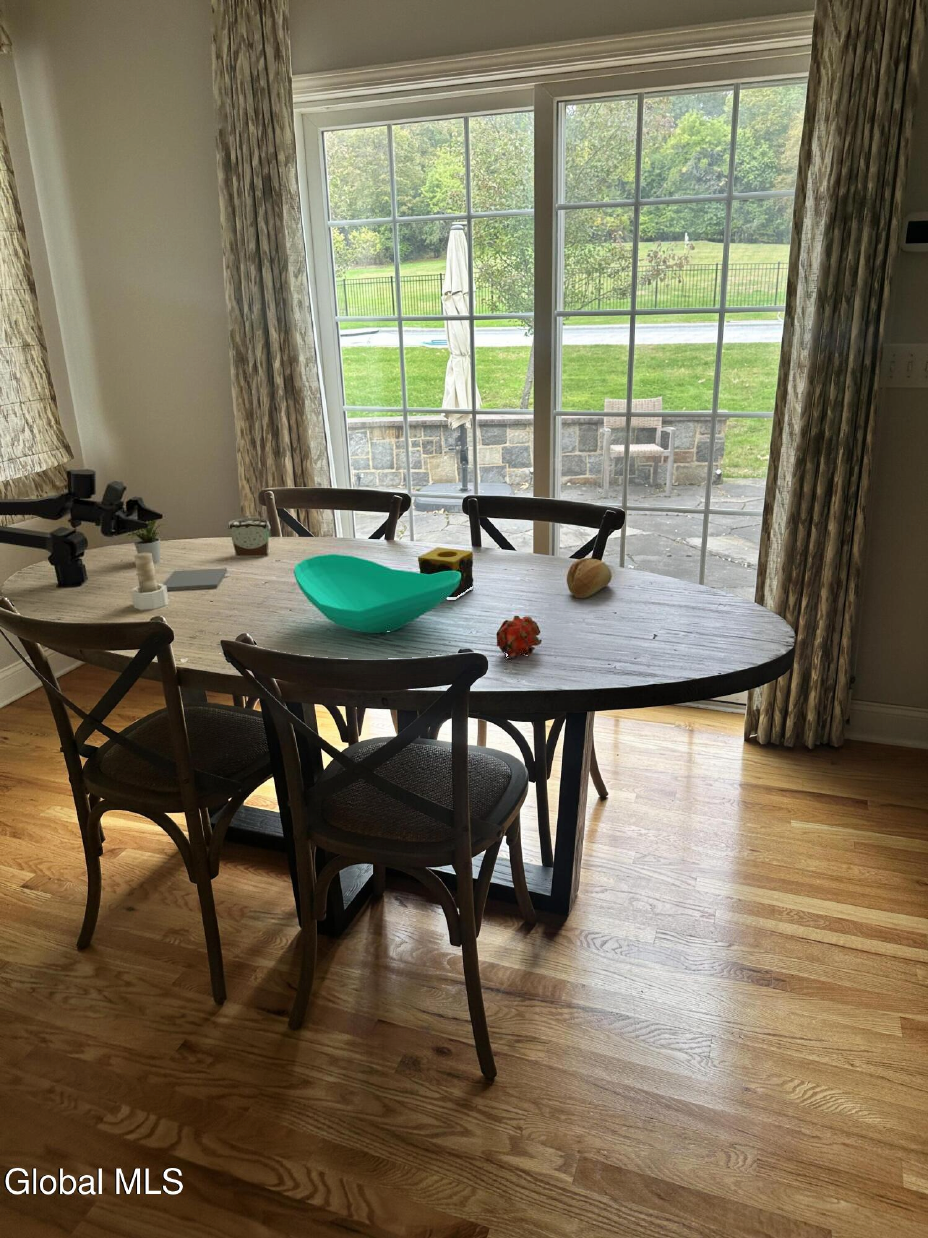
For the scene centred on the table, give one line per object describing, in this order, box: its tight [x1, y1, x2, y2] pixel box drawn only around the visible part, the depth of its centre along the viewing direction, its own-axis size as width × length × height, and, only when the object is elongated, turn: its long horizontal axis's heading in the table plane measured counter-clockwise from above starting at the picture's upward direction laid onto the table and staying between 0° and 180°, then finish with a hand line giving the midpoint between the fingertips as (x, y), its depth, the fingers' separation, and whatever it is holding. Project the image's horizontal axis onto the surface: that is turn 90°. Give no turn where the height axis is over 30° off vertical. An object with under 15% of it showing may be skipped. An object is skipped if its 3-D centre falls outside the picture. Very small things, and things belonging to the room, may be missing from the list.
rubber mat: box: [162, 567, 228, 592], centre depth 225 cm, size 14×14×1 cm
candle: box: [417, 546, 474, 597], centre depth 208 cm, size 10×10×10 cm
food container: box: [227, 517, 271, 557], centre depth 246 cm, size 12×6×10 cm, turn 84°
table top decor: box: [293, 553, 461, 634], centre depth 187 cm, size 40×28×13 cm
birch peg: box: [133, 553, 158, 593], centre depth 207 cm, size 4×4×12 cm
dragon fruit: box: [495, 615, 542, 659], centre depth 171 cm, size 8×8×12 cm
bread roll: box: [566, 557, 612, 599], centre depth 205 cm, size 10×15×8 cm, turn 150°
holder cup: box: [130, 582, 170, 611], centre depth 208 cm, size 8×8×4 cm
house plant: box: [126, 507, 165, 564], centre depth 242 cm, size 14×14×16 cm
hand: (155, 520), depth 219 cm, fingers open, 9 cm apart
